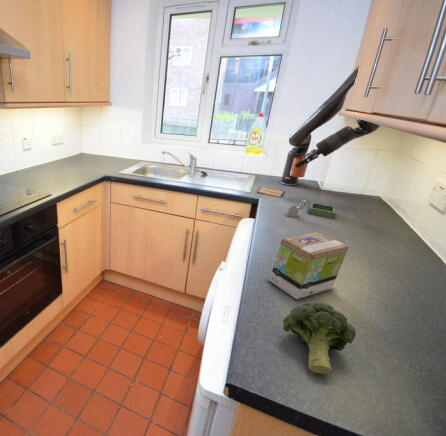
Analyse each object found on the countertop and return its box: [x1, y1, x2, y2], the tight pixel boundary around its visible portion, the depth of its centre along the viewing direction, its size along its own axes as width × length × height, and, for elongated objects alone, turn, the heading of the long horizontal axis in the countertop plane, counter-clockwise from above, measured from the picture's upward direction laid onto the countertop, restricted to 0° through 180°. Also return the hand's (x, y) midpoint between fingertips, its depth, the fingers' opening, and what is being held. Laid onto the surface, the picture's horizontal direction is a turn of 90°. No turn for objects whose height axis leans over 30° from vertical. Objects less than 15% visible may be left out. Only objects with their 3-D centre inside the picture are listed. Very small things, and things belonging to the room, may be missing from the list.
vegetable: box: [282, 301, 357, 375], centre depth 63 cm, size 12×13×15 cm
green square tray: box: [308, 202, 336, 219], centre depth 144 cm, size 10×10×3 cm
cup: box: [290, 157, 309, 178], centre depth 153 cm, size 7×7×9 cm
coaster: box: [257, 186, 284, 198], centre depth 173 cm, size 12×12×1 cm
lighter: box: [286, 199, 308, 218], centre depth 138 cm, size 7×2×8 cm, turn 85°
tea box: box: [269, 231, 350, 300], centre depth 85 cm, size 15×10×15 cm, turn 114°
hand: (296, 165), depth 154 cm, fingers closed on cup, 6 cm apart
